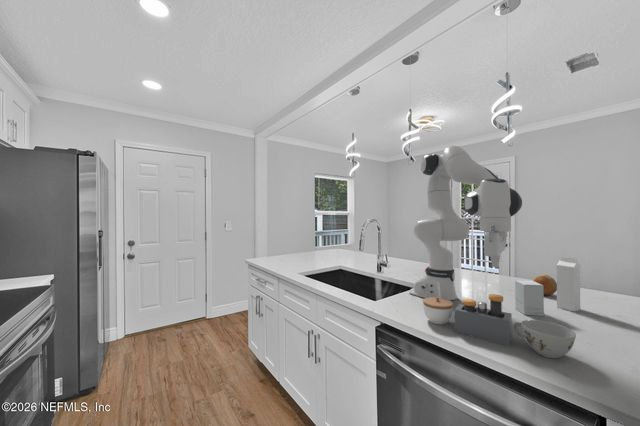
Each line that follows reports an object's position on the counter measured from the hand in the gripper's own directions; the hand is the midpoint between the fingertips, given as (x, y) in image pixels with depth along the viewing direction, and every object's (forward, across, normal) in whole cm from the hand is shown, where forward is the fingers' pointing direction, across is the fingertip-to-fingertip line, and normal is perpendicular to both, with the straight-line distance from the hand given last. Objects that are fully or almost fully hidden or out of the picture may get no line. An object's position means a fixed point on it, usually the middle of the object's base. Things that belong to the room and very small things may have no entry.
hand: (495, 266), depth 91 cm
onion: (+24, +69, -12) cm, 74 cm away
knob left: (+22, 0, +8) cm, 24 cm away
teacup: (+24, -2, -12) cm, 27 cm away
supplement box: (+24, +35, -7) cm, 43 cm away
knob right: (+19, 0, 0) cm, 19 cm away
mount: (+24, 0, +4) cm, 25 cm away
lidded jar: (+24, +2, +20) cm, 31 cm away
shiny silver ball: (+16, 0, +4) cm, 17 cm away
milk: (+24, +51, -20) cm, 60 cm away
